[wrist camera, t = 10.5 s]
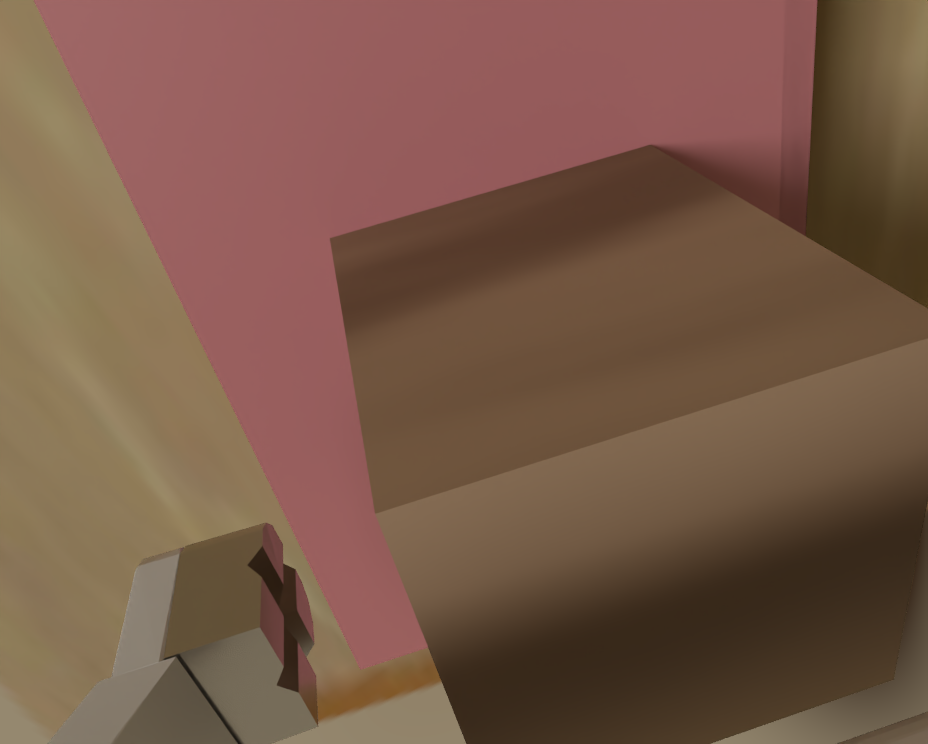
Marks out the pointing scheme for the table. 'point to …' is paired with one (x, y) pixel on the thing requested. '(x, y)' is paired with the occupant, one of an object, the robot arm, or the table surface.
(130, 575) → the table surface
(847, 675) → the walnut block
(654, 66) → the book
